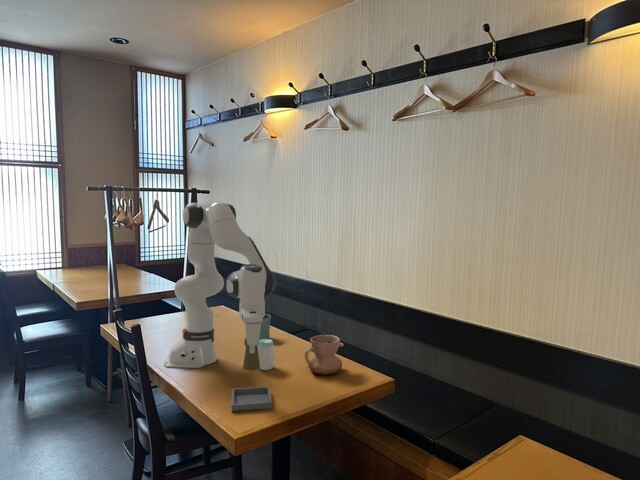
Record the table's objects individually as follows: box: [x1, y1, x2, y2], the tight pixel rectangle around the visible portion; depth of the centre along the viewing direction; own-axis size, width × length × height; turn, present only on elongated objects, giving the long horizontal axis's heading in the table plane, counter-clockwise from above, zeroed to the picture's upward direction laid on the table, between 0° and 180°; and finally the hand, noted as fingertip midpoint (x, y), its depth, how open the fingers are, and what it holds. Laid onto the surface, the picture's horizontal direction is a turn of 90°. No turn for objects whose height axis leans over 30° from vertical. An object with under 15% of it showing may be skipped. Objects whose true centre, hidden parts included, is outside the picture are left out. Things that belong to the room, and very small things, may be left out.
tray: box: [231, 386, 273, 413], centre depth 158 cm, size 14×14×2 cm
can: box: [258, 338, 275, 371], centre depth 191 cm, size 7×7×12 cm
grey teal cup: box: [259, 313, 272, 340], centre depth 231 cm, size 10×10×12 cm
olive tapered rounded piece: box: [242, 337, 260, 371], centre depth 157 cm, size 6×6×11 cm
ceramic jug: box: [304, 334, 344, 376], centre depth 188 cm, size 18×14×14 cm
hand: (251, 349), depth 157 cm, fingers closed on olive tapered rounded piece, 4 cm apart
